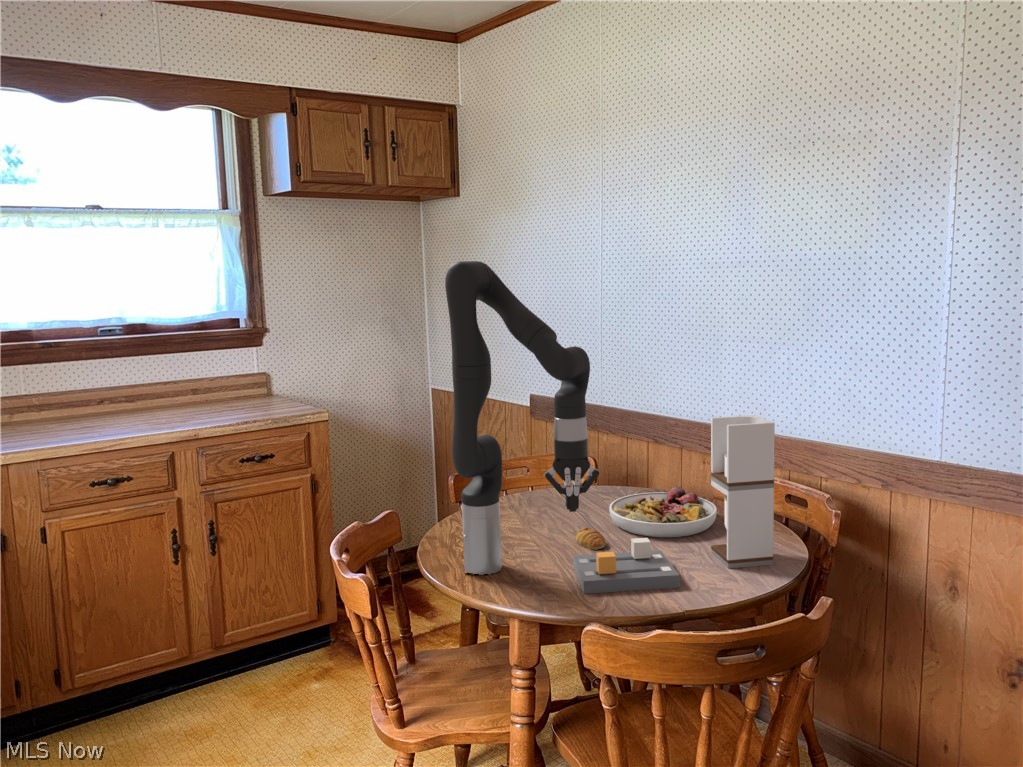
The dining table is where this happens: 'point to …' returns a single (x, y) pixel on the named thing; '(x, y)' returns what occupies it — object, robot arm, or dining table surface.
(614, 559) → the slider
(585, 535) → the pastry
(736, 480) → the white upright stand
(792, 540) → the dining table surface
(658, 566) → the switch panel
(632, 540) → the on slider
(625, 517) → the bowl
